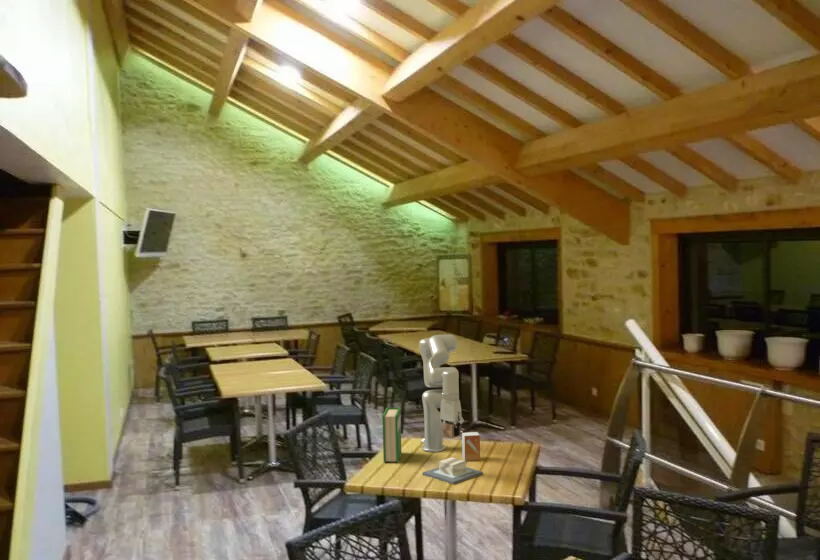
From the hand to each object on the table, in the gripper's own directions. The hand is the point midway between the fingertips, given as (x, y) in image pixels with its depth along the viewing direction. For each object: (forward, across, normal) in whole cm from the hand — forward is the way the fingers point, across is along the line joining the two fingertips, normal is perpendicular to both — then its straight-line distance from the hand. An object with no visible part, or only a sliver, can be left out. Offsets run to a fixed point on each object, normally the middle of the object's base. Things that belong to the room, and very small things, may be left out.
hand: (451, 434), depth 328 cm
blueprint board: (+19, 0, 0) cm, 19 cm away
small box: (+19, -10, +24) cm, 32 cm away
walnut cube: (+1, 0, 0) cm, 1 cm away
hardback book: (+19, -41, -2) cm, 46 cm away
